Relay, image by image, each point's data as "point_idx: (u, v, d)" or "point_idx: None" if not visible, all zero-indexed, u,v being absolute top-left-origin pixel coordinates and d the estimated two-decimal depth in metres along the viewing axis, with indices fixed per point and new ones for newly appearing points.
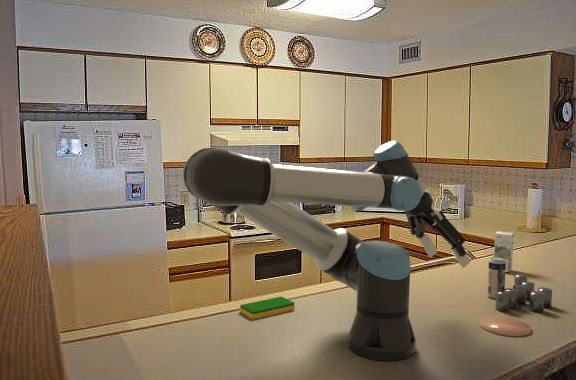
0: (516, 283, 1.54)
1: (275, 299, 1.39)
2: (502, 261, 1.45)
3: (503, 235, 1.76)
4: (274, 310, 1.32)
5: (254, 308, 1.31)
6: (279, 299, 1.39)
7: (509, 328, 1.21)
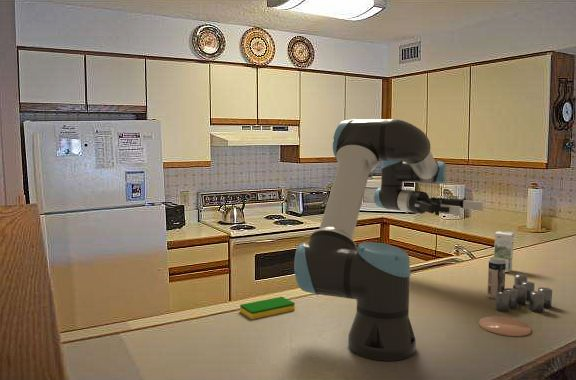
0: (516, 283, 1.54)
1: (275, 299, 1.39)
2: (502, 261, 1.45)
3: (503, 235, 1.76)
4: (274, 310, 1.32)
5: (254, 308, 1.31)
6: (279, 299, 1.39)
7: (509, 328, 1.21)
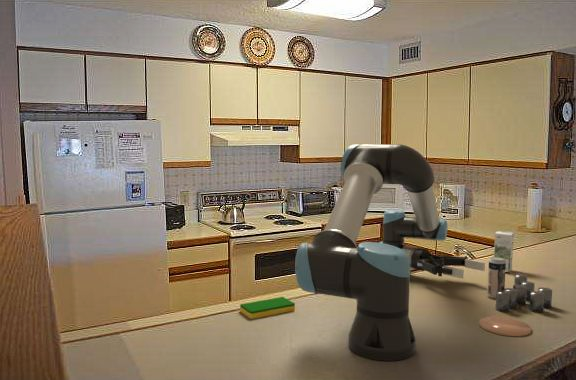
0: (516, 283, 1.54)
1: (276, 299, 1.39)
2: (502, 261, 1.45)
3: (503, 235, 1.76)
4: (273, 310, 1.32)
5: (253, 308, 1.31)
6: (280, 299, 1.39)
7: (509, 328, 1.21)
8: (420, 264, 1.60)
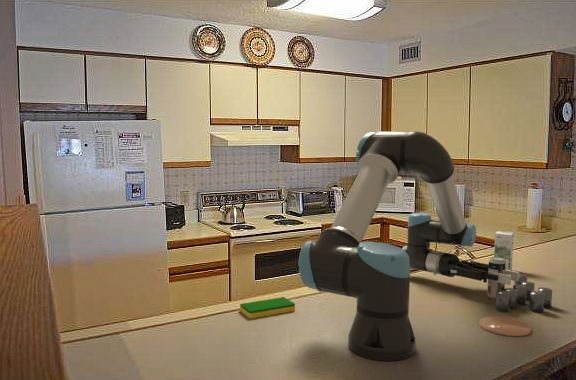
0: (516, 283, 1.54)
1: (276, 299, 1.39)
2: (502, 261, 1.45)
3: (503, 235, 1.76)
4: (273, 310, 1.32)
5: (253, 308, 1.31)
6: (280, 299, 1.38)
7: (509, 328, 1.21)
8: (455, 271, 1.51)
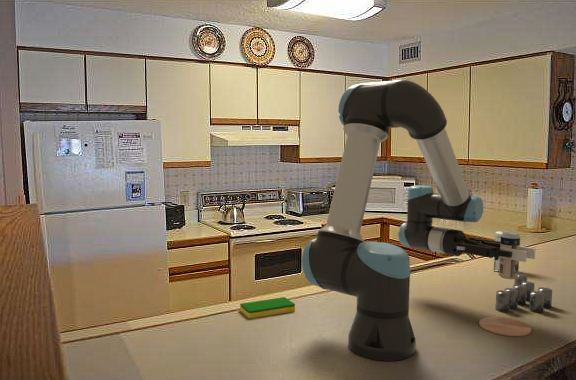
0: (516, 283, 1.54)
1: (277, 299, 1.38)
2: (516, 235, 1.27)
3: None
4: (272, 310, 1.32)
5: (252, 308, 1.31)
6: (281, 300, 1.38)
7: (509, 328, 1.21)
8: (462, 248, 1.32)
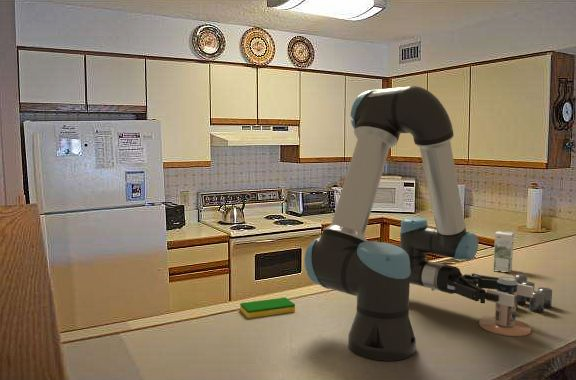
0: None
1: (277, 300, 1.38)
2: (513, 282, 1.21)
3: (503, 235, 1.76)
4: (272, 310, 1.32)
5: (252, 307, 1.32)
6: (281, 300, 1.38)
7: (509, 328, 1.21)
8: (452, 287, 1.27)
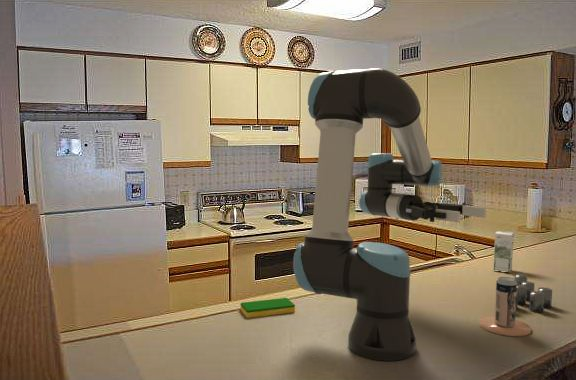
0: None
1: (278, 300, 1.38)
2: (513, 282, 1.21)
3: (503, 235, 1.76)
4: (271, 310, 1.32)
5: (251, 307, 1.32)
6: (282, 300, 1.38)
7: (509, 328, 1.21)
8: (409, 210, 1.35)
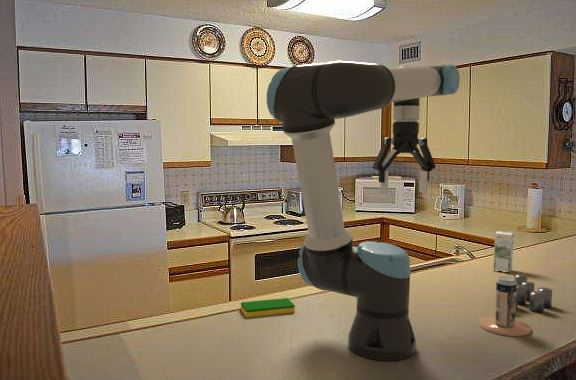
0: None
1: (278, 300, 1.38)
2: (513, 282, 1.21)
3: (503, 235, 1.76)
4: (271, 310, 1.32)
5: (250, 307, 1.32)
6: (282, 300, 1.38)
7: (509, 328, 1.21)
8: (385, 142, 1.41)
